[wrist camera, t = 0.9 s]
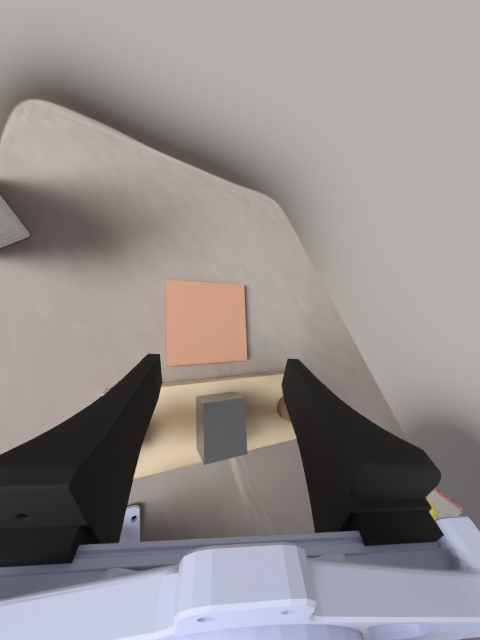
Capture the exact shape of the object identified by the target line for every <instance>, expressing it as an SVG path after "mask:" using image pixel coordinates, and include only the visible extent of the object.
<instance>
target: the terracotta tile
mask: <svg viewBox="0 0 480 640" xmlns="http://www.w3.org/2000/svg"><path fill="white" fill-rule="evenodd" d="M166 357H167V366H177V365H190V364H203V363H217V362H230V361H243V360H247V341H246V317H245V292H244V285H237V284H222V283H207V282H193V281H178V280H166Z"/></svg>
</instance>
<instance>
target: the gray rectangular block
mask: <svg viewBox="0 0 480 640" xmlns="http://www.w3.org/2000/svg"><path fill="white" fill-rule="evenodd" d="M196 443H197V451H198V453H199V455H200V457H201V459H202V461H203V463H204V465H205V464H209V463H213V462H217V461H221V460H225V459H228V458H232V457H236V456H240V455H244V454H247V433H246V407H245V397H243V396H241V395H239V394H237V393H235V392H226V393H218V394H211V395H203V396H196Z"/></svg>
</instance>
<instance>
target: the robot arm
mask: <svg viewBox="0 0 480 640" xmlns="http://www.w3.org/2000/svg"><path fill="white" fill-rule="evenodd" d="M161 386H162V374H161V362H160V354H148V355H146V356H145V357H144V358H143V359H142V360H141V361H140V362H139V363H138V364H137V365H136V366H135V367H134V368H133V369H132V370H131V371H130V372H129V373H128V374H127V375H126V376H125V377H124V378H123V379H122V380H121V381H119V382H118V383H117V384H116V385H115V386H114V387H112V388H111V389H110V390H109V391H108V392H106V393H105V394H104V395H103V396H101V397H100V398H99V399H97V400H96V401H95V402H93V403H92V404H91V405H89V406H88V407H86V408H85V409H83V410H82V411H80V412H79V413H77V414H75V415H74V416H72V417H71V418H69V419H68V420H66V421H64V422H63V423H61V424H59V425H58V426H56V427H54V428H52V429H50V430H49V431H47V432H45V433H43V434H41V435H39V436H38V437H36V438H34V439H32V440H30V441H28V442H26V443H24V444H22V445H19V446H17V447H15V448H13V449H11V450H9V451H7V452H5V453H3V454H1V455H0V640H458V639H466V638H473V637H480V531H479V530H478V529H477V528H476V526H475V525H474V524H473V522H472V521H471V520H470V518H469V517H466V516H455V517H441V518H438V519H435V520H434V519H433V517H432V516H431V514H430V512H429V511H430V510H431V509H432V508H431V505H430V504H429V502H428V501H427V499H426V497H427V496H428V495H429V494H430V493H431V492H432V491H433V490H434V488H435V487H436V486H437V485H438V484H439V482H440V479H441V473H440V471H439V469H438V468H437V467H436V466H435V464H434V463H433V462H432V460H431V459H430V458H429V457H428V455H427V454H426V453H425V452H424V451H423V450H422V449H420V448H418V447H416V446H414V445H412V444H410V443H408V442H406V441H404V440H402V439H400V438H398V437H396V436H395V435H393V434H391V433H389V432H388V431H386V430H384V429H382V428H381V427H379V426H378V425H376V424H374V423H373V422H371V421H370V420H368V419H367V418H365V417H364V416H362V415H361V414H359V413H358V412H356V411H355V410H354V409H352V408H351V407H350V406H348V405H347V404H346V403H344V402H343V401H342V400H341V399H339V398H338V397H337V396H336V395H335V394H334V393H332V392H331V391H330V390H329V389H328V388H327V387H326V386H325V385H324V384H323V383H321V382H320V381H319V380H318V379H317V378H316V377H315V376H314V375H313V374H312V373H311V372H310V371H309V370H308V369H307V368H306V367H305V366H304V365H303V363H302V362H301V361H299V360H298V359H288V360H287V364H286V368H285V372H284V376H283V380H282V384H281V386H282V392H283V397H284V402H285V405H286V408H287V411H288V414H289V417H290V420H291V423H292V426H293V429H294V432H295V435H296V438H297V442H298V445H299V449H300V454H301V458H302V462H303V467H304V472H305V477H306V482H307V487H308V492H309V498H310V503H311V509H312V515H313V522H314V528H315V533H306V534H287V535H267V536H247V537H228V538H208V539H188V540H169V541H149V542H140V507H139V505H132V506H128V507H127V504H128V500H129V495H130V491H131V486H132V482H133V478H134V474H135V470H136V466H137V462H138V458H139V454H140V451H141V447H142V444H143V441H144V438H145V435H146V432H147V429H148V427H149V424H150V421H151V418H152V416H153V413H154V410H155V407H156V405H157V402H158V399H159V394H160V390H161ZM133 516H137V517H136V518H135V519H132V517H133Z"/></svg>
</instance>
